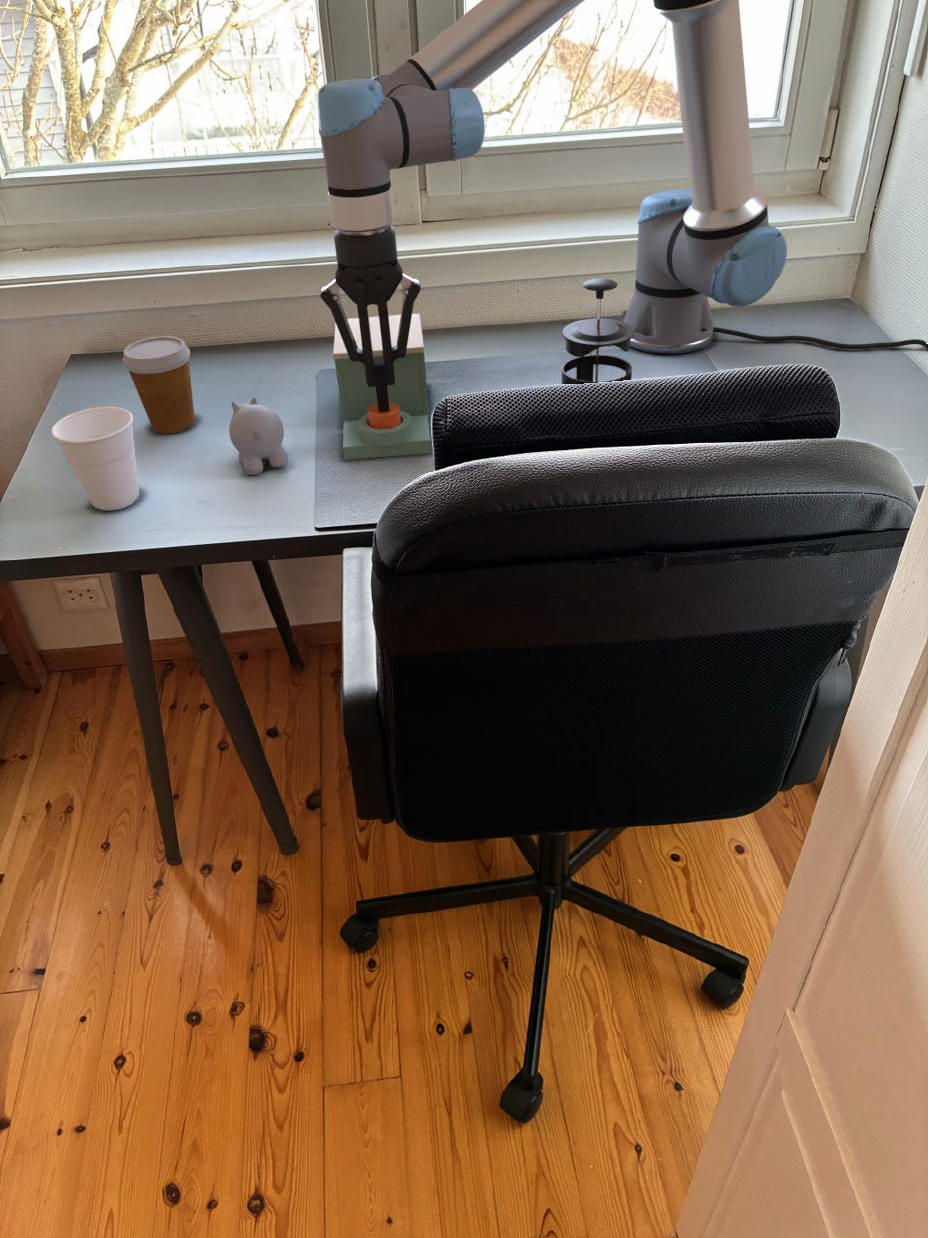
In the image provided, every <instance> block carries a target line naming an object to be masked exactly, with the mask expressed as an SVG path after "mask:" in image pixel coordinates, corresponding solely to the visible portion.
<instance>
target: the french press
mask: <svg viewBox="0 0 928 1238" xmlns="http://www.w3.org/2000/svg"><path fill="white" fill-rule="evenodd" d="M582 287H583V289H585V290H588V291H592V292H595V299H597V315H596V316H597V318H587V319H586V318H585V319H579V320H576V321H573V322H570V323H569V324H567V325H565V326H564V328H563V329H562V337H563V339H565V350H566V352H567V353H568V354H570V355H571V356H573V358H570V359H569V360H567V361H565V362H564V363H563V365H562V366H561V385H562V384H584V383H598V382H599V365H600V366H607V367H608V366H610V367H613V368H617V369H621V370H622V371H624V372H625V375H624V376H621V377H619V378H616V379H611V380H605V381H604V380H603V381H602V382H612V381H623V380H631V381H632V375H633V366H632V365H631V363H630V362H629V361H627V360H626V359H623V358H622V357H619V356H614V355H607V354H600V348H604V347H605V348H606V347H616V348H619V349H620V350H622V351H623V352H625V353H627V352H629V351H630V349H631V346H630V339H631V338H633V336H634V329H633V327H632V326H630V325H629V324H627V323H625V322H623V320H622V321H621V320H617V319H612V318H601V311H602V309H601V307H602V299H604V294H605V291H606V292H607V291H612V290H614V289H616V288H617V287H618V282H617V281H616V280H613V279H610V278H602V277H601V278H592V279H588V280H585V282H583V283H582ZM594 351H595V354H593V353H592V352H594ZM594 365H595V367H594ZM594 368H595V369H594ZM573 369H576V374H575V375H576V377H575V378H574V377H572V376H570V375H569V374H567V373H568V372H569V371H571V370H573ZM594 370H595V372H594Z"/></svg>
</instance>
